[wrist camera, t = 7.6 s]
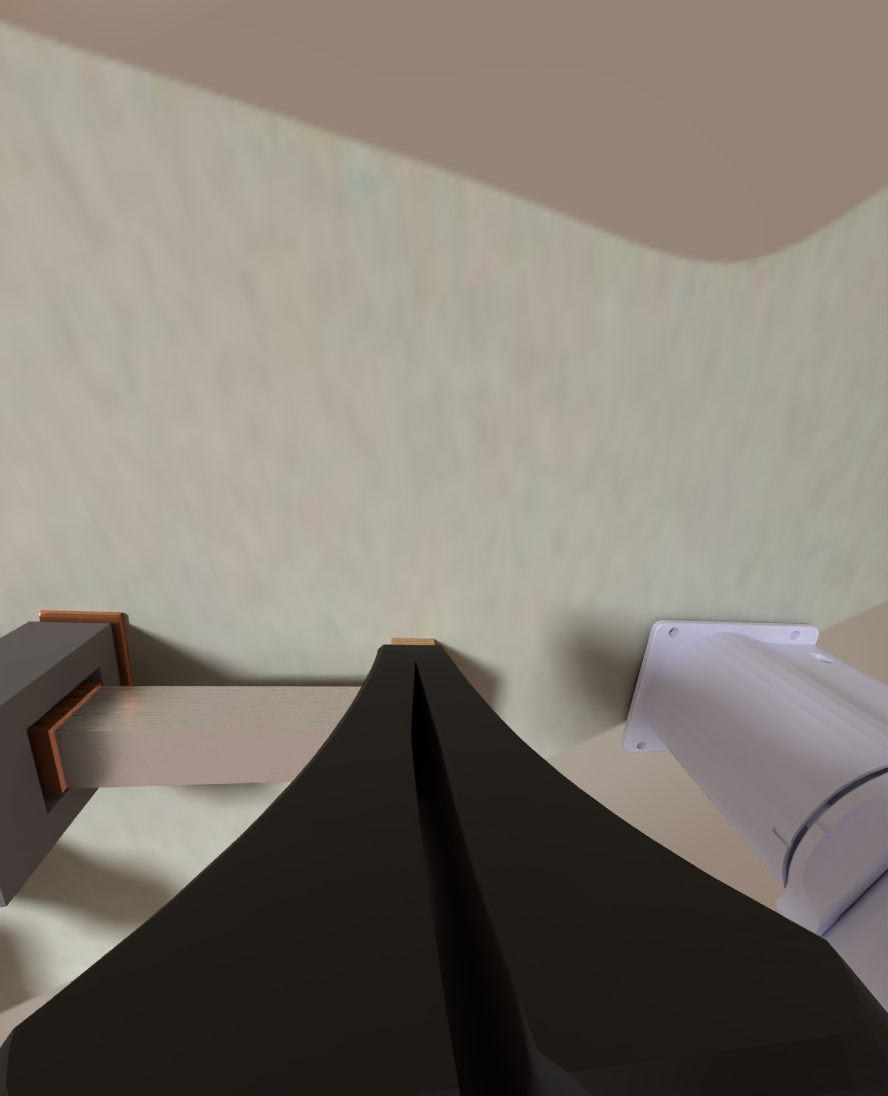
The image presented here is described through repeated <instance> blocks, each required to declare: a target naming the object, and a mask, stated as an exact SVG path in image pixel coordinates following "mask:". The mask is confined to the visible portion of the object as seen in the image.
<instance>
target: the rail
mask: <svg viewBox="0 0 888 1096" xmlns="http://www.w3.org/2000/svg"><path fill="white" fill-rule="evenodd" d="M39 618H40V622H74V623H111V629H112V635H113V642H114V648H115V654H116V660H117V666H118V672H119V678H120V684H121V686H101V682H81V683H80V684H79V685H77V686H76V687H75V688H74V689H73V690H72V691H70V692H69V693H68V694H67V695H66V696H65V697H64V698H62V699H61V700H60V701H59V702H58V703H57V704H55V705H54V706H53V707H52V708H51V709H50V710H49V711H47V712H46V713H45V714H44V715H43V716H42V717H40V718H39V719H38V720H37V721H36V722H35V723H34V724H32V725H31V726H30V727H29V728H28V729H27V730H26V731H27V735H28V739H29V743H30V747H31V751H32V755H33V759H34V763H35V767H36V771H37V775H38V779H39V783H40V787H41V791H42V794H49V793H63V792H64V791H65V790H66V788H98V787H132V786H166V785H200V784H234V783H268V782H292V781H293V780H294V779H295V778H296V777H297V775H298V774H299V773H300V772H301V771H302V770H303V768H304V767H305V766H306V765H307V764H308V762H309V761H310V760H311V759H312V758H313V756H314V755H315V754H316V753H317V751H318V750H319V749H320V747H321V746H322V745H323V744H324V742H325V741H326V740H327V738H328V737H329V736H330V734H331V733H332V731H333V730H334V728H335V727H336V726H337V724H338V723H339V721H340V720H341V718H342V717H343V716H344V714H345V713H346V711H347V710H348V708H349V707H350V705H351V704H352V702H353V700H354V699H355V697H356V695H357V694H358V692H359V690H360V688H361V687H318V686H133V684H132V677H131V671H130V664H129V658H128V651H127V644H126V638H125V631H124V625H123V618H122V613H115V612H76V611H41V612H39ZM391 645H435V644H434V639H392V643H391Z"/></svg>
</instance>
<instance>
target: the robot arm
mask: <svg viewBox="0 0 888 1096" xmlns="http://www.w3.org/2000/svg"><path fill="white" fill-rule="evenodd" d="M672 628H674V629H673V631H672V632H670V633H669V631H670V630H671V629H672ZM818 636H819V629H818V628H817V627H815V626H813V625H810V624H792V623H757V622H721V621H685V620H659V621H657V622H656V623H655V624H654V625H653V626H652V629H651V632H650V636H649V640H648V644H647V647H646V651H645V655H644V658H643V662H642V666H641V670H640V673H639V677H638V681H637V684H636V688H635V692H634V696H633V699H632V703H631V707H630V711H629V714H628V718H627V722H626V725H625V729H624V733H623V737H622V741H621V744H622V746H623V748H624V749H625V750H626V751H627V752H666V751H670V752H671V753H672V754H673V756H674V757H675V758H676V759H677V761H678V762H679V763H680V764H681V765H682V767H683V768H684V769H685V770H686V771H687V773H688V774H689V775H690V776H691V777H692V779H693V780H694V781H695V782H696V783H697V785H698V786H699V787H700V788H701V789H702V791H703V792H704V793H705V794H706V795H707V797H708V798H709V799H710V800H711V802H712V803H713V804H714V805H715V806H716V807H717V809H718V810H719V811H720V812H721V814H722V815H723V816H724V817H725V818H726V820H727V821H728V822H729V823H730V825H731V826H732V827H733V828H734V829H735V831H736V832H737V833H738V834H739V835H740V837H741V838H742V839H743V840H744V841H745V843H746V844H747V845H748V846H749V847H750V849H751V850H752V851H753V852H754V854H755V855H756V856H757V857H758V858H759V860H760V861H761V862H762V863H763V864H764V866H765V867H766V868H767V869H768V870H769V872H770V873H771V874H772V875H773V876H774V878H776V880H777V881H778V882H779V884H780V885H781V886H782V887H783V889H784V892H783V893H782V895H781V896H780V897H779V899H778V900H777V901H776V902H775V906H776V907H777V908H778V910H779V911H780V912H781V913H782V915H783V916H782V915H780V914H779V913H777V912H775V911H773V910H771V909H770V908H768V907H766V906H764V905H762V904H760V903H759V902H757V901H755V900H753V899H752V898H750V897H748V896H746V895H744V894H743V893H741V892H739V891H737V890H735V889H734V888H732V887H730V886H728V885H726V884H725V883H723V882H721V881H719V880H717V879H716V878H714V877H712V876H711V875H709V874H707V873H706V872H704V871H702V870H701V869H699V868H697V867H696V866H694V865H693V864H691V863H689V862H688V861H686V860H684V859H683V858H681V857H680V856H678V855H676V854H675V853H673V852H672V851H670V850H669V849H667V848H665V847H664V846H662V845H661V844H659V843H657V842H656V841H654V840H653V839H651V838H650V837H648V836H647V835H645V834H644V833H642V832H641V831H639V830H638V829H636V828H635V827H633V826H631V825H630V824H629V823H627V822H626V821H624V820H623V819H621V818H620V817H618V816H617V815H616V814H614V813H613V812H612V811H610V810H609V809H607V808H606V807H605V806H603V805H602V804H601V803H599V802H598V801H596V800H595V799H594V798H592V797H591V796H590V795H588V794H587V793H586V792H584V791H583V790H581V789H580V788H578V787H577V786H576V785H575V784H574V783H572V782H571V781H570V780H568V779H567V778H566V777H565V776H563V775H562V774H561V773H560V772H558V771H557V770H556V769H555V768H554V767H552V766H551V765H550V764H549V763H548V762H547V761H546V760H545V759H543V758H542V757H541V756H540V755H539V754H537V753H536V752H535V751H534V750H533V749H532V748H531V747H529V746H528V745H527V744H526V743H525V742H524V741H523V740H522V739H521V738H520V737H519V736H518V735H517V734H516V733H515V732H514V731H513V730H512V729H511V728H510V727H509V726H508V725H507V724H506V723H505V722H504V721H503V720H502V719H501V718H500V717H499V716H498V715H497V714H496V713H495V712H494V711H493V709H492V708H491V707H490V706H489V705H488V704H487V703H486V701H485V700H484V699H483V698H482V697H481V696H480V695H479V693H478V692H477V691H476V690H475V689H474V688H473V686H472V685H471V684H470V683H469V681H468V680H467V679H466V678H465V676H464V675H463V674H462V673H461V671H460V670H459V669H458V667H457V666H456V665H455V663H454V662H453V661H452V659H451V658H450V657H449V655H448V654H447V653H446V651H445V650H444V649H443V648H442V647H441V645H383V646H381V647H380V648H379V649H378V652H377V656H376V658H375V661H374V663H373V666H372V668H371V670H370V672H369V674H368V676H367V678H366V680H365V682H364V683H363V685H362V687H361V688H360V690H359V692H358V694H357V695H356V697H355V699H354V700H353V702H352V704H351V705H350V707H349V708H348V710H347V711H346V713H345V714H344V716H343V717H342V718H341V720H340V721H339V723H338V724H337V726H336V727H335V728H334V730H333V731H332V733H331V734H330V736H329V737H328V738H327V740H326V741H325V742H324V744H323V745H322V746H321V747H320V749H319V750H318V751H317V753H316V754H315V755H314V756H313V758H312V759H311V760H310V761H309V762H308V764H307V765H306V766H305V767H304V768H303V770H302V771H301V772H300V773H299V774H298V775H297V777H296V778H295V779H294V780H293V781H292V782H291V783H290V785H289V786H288V787H287V788H286V789H285V790H284V791H283V792H282V793H281V794H280V795H279V796H278V797H277V799H276V800H275V801H274V802H273V803H272V804H271V805H270V806H269V807H268V808H267V809H266V810H265V811H264V813H263V814H262V815H261V816H260V817H259V818H258V819H257V820H256V821H255V822H254V823H253V824H252V825H251V826H250V827H249V828H248V829H247V830H246V831H245V832H244V833H243V834H242V835H241V836H240V837H239V838H238V839H237V840H236V841H235V842H233V843H232V844H231V845H230V846H229V847H228V848H227V849H226V850H225V851H224V852H223V853H221V854H220V855H219V856H218V857H217V858H216V859H215V860H214V861H213V862H212V863H211V864H210V865H208V866H207V867H206V868H205V869H204V870H203V871H202V872H201V873H200V874H199V875H198V876H196V877H195V878H194V879H193V880H192V881H191V882H190V883H189V884H188V885H187V886H186V887H185V888H183V889H182V890H181V891H180V892H179V893H178V894H177V895H176V896H175V897H174V898H173V899H171V900H170V901H169V902H168V903H167V904H166V905H165V906H163V907H162V908H161V909H160V910H159V911H158V912H156V913H155V914H154V915H153V916H152V917H151V918H149V919H148V920H147V921H146V922H145V923H143V924H142V925H141V926H140V927H139V928H137V929H136V930H135V931H134V932H132V933H131V934H130V935H129V936H128V937H126V938H125V939H124V940H123V941H121V942H120V943H119V944H118V945H117V946H115V947H114V948H113V949H112V950H110V951H109V952H108V953H107V954H106V955H104V956H103V957H102V958H101V959H99V960H98V961H97V962H96V963H95V964H93V965H92V966H91V967H90V968H88V969H87V970H86V971H85V972H84V973H82V974H81V975H80V976H79V977H77V978H76V979H75V980H74V981H73V982H71V983H70V984H69V985H68V986H66V987H65V988H64V989H63V990H62V991H60V992H59V993H58V994H57V995H55V996H54V997H53V998H52V999H51V1000H49V1001H48V1002H47V1003H46V1004H44V1005H43V1006H42V1007H41V1008H39V1009H38V1010H37V1011H35V1012H34V1013H33V1014H32V1015H30V1016H29V1017H28V1018H27V1019H25V1020H24V1021H23V1022H22V1023H20V1024H19V1025H18V1026H16V1027H15V1028H14V1029H13V1030H12V1032H11V1033H10V1034H9V1036H8V1037H7V1039H6V1040H5V1042H4V1043H3V1044H2V1046H1V1047H0V1096H888V685H886V684H884V683H883V682H881V681H879V680H877V679H875V678H873V677H872V676H870V675H868V674H866V673H864V672H862V671H861V670H859V669H857V668H855V667H853V666H851V665H850V664H848V663H846V662H844V661H842V660H840V659H839V658H837V657H835V656H833V655H831V654H829V653H828V652H826V651H824V650H822V649H820V648H818V647H817V646H815V644H816V641H817V639H818Z"/></svg>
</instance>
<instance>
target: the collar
mask: <svg viewBox="0 0 888 1096" xmlns="http://www.w3.org/2000/svg"><path fill="white" fill-rule="evenodd" d="M81 682H101V686H121V684H120V678H119V672H118V666H117V660H116V654H115V648H114V642H113V635H112V629H111V623H74V622H28V623H26V624H24V625H22V626H21V627H19V628H17V629H16V630H14V631H12V632H10V633H9V634H7V635H5V636H3V637H2V638H0V907H6V906H7V905H8V904H9V902H10V901H11V900H12V898H13V897H14V896H15V895H16V893H17V892H18V891H19V889H20V888H21V887H22V886H23V884H24V883H25V882H26V880H27V879H28V878H29V877H30V875H31V874H32V873H33V872H34V870H35V869H36V868H37V866H38V865H39V864H40V863H41V861H42V860H43V859H44V857H45V856H46V855H47V854H48V852H49V851H50V850H51V848H52V847H53V846H54V845H55V843H56V842H57V841H58V839H59V838H60V837H61V836H62V834H63V833H64V832H65V831H66V829H67V828H68V827H69V825H70V824H71V823H72V822H73V820H74V819H75V818H76V816H77V815H78V814H79V813H80V811H81V810H82V809H83V807H84V806H85V805H86V804H87V802H88V801H89V800H90V798H91V797H92V796H93V795H94V793H95V792H96V791H97V789H98V788H99V787H98V788H66V790H65V791H64V792H63V793H49V794H42V791H41V787H40V783H39V779H38V775H37V771H36V767H35V763H34V759H33V755H32V751H31V747H30V743H29V739H28V735H27V731H26V730H27V729H28V728H29V727H30V726H31V725H32V724H34V723H35V722H36V721H37V720H38V719H39V718H40V717H42V716H43V715H44V714H45V713H46V712H47V711H49V710H50V709H51V708H52V707H53V706H54V705H55V704H57V703H58V702H59V701H60V700H61V699H62V698H64V697H65V696H66V695H67V694H68V693H69V692H70V691H72V690H73V689H74V688H75V687H76V686H77V685H79V684H80V683H81Z"/></svg>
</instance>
